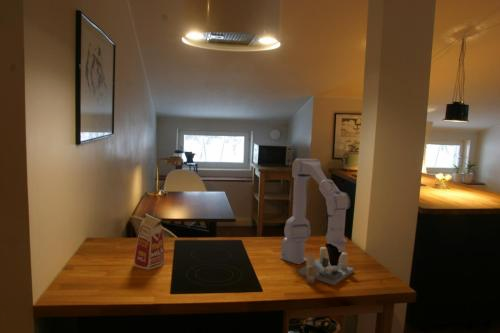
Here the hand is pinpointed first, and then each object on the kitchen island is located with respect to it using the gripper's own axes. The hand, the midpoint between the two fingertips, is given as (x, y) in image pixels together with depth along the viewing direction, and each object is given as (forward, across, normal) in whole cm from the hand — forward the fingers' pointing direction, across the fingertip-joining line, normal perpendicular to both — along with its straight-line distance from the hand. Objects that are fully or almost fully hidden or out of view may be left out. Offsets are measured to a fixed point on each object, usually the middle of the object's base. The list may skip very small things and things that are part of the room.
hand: (333, 265), depth 130 cm
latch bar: (+5, +8, -3) cm, 10 cm away
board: (+8, +14, -2) cm, 16 cm away
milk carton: (+9, +21, +66) cm, 70 cm away
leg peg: (+8, +5, +6) cm, 12 cm away
